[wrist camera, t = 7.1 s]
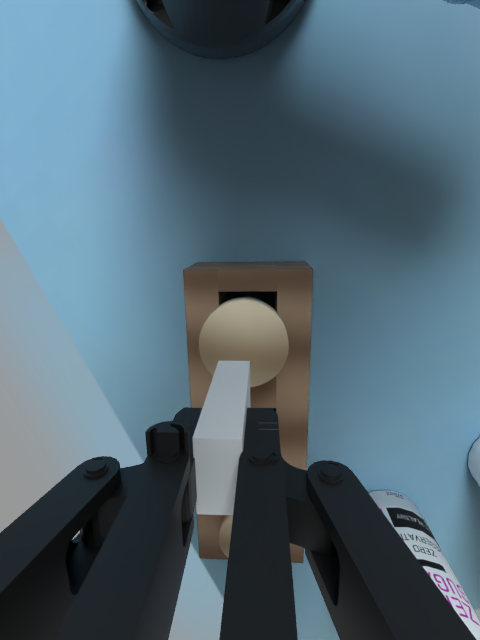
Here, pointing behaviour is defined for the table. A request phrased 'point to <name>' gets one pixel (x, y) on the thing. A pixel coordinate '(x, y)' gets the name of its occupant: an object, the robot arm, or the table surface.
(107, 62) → the table surface
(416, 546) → the supplement can
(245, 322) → the maple plug
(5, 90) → the table surface
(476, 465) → the bottle
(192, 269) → the socket board
